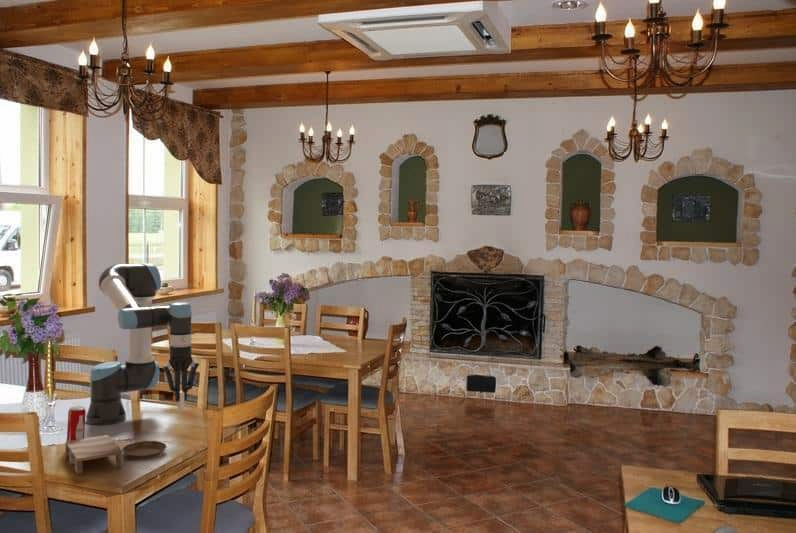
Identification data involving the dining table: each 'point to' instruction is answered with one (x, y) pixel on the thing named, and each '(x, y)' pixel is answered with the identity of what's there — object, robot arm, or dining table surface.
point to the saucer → (144, 450)
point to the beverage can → (76, 423)
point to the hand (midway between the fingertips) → (181, 409)
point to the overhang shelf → (91, 451)
